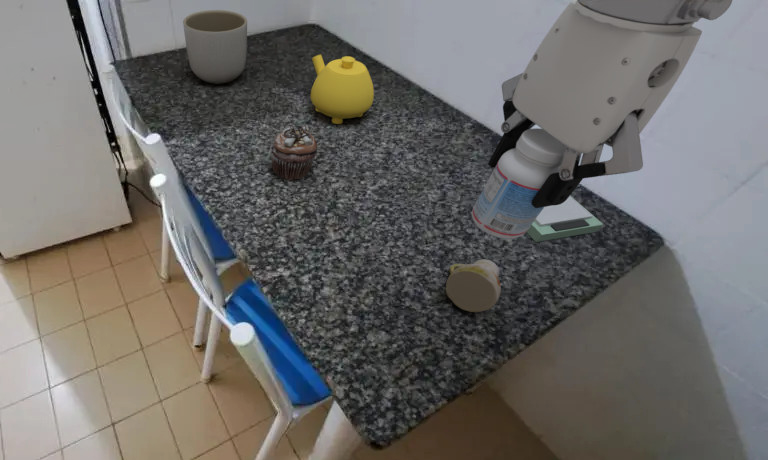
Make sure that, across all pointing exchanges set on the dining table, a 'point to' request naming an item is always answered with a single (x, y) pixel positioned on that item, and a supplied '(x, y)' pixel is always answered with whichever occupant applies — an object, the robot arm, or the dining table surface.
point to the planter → (216, 44)
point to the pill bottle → (517, 185)
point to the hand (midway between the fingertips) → (522, 182)
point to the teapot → (341, 88)
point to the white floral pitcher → (474, 285)
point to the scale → (563, 221)
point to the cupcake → (293, 152)
